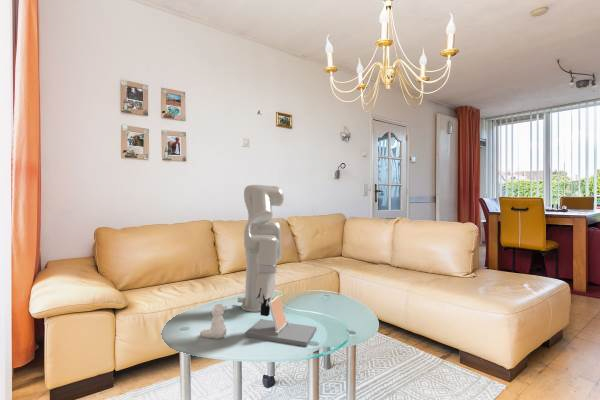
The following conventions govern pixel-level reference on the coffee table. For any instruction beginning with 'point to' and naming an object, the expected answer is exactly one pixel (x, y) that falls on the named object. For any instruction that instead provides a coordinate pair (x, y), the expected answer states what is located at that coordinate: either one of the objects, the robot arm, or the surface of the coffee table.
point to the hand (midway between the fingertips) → (264, 315)
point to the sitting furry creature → (216, 324)
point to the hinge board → (282, 332)
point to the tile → (277, 313)
